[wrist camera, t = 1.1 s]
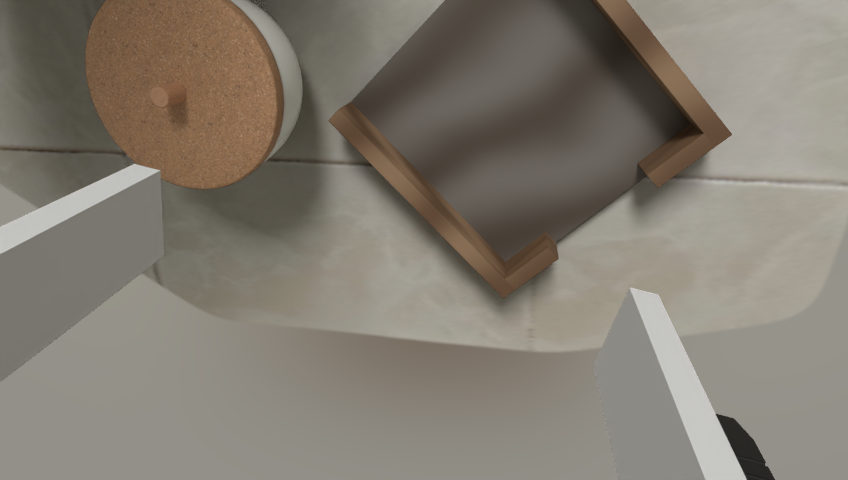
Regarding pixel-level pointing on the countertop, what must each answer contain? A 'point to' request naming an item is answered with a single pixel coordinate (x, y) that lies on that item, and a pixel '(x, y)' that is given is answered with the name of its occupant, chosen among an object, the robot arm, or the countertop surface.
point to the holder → (526, 123)
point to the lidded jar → (193, 86)
